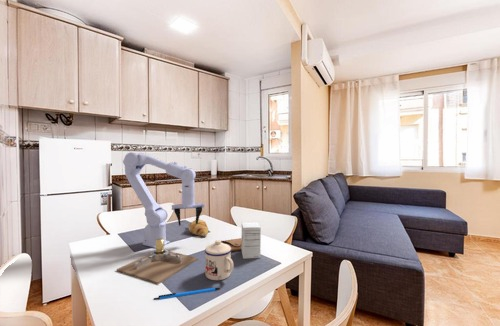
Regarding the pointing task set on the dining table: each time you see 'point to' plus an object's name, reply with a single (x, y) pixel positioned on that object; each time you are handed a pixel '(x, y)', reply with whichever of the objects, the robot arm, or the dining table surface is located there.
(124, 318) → the dining table surface
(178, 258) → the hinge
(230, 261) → the teacup with lid
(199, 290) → the pen
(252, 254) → the supplement box
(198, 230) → the croissant
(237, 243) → the sunglasses case
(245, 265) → the dining table surface
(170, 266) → the board
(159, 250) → the brass pin
